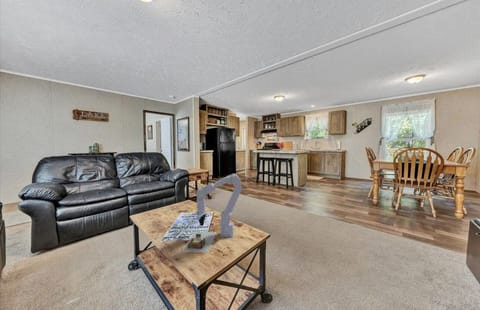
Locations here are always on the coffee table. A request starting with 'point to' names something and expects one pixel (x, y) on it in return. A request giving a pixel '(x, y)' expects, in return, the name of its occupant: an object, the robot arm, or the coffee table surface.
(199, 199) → the robot arm
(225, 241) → the coffee table surface
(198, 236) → the cart
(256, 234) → the coffee table surface
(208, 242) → the dock board
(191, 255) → the coffee table surface
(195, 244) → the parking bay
